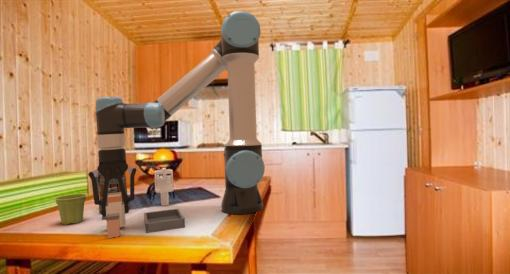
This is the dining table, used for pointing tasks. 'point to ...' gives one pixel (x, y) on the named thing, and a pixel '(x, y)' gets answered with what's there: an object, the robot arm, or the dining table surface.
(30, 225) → the dining table surface
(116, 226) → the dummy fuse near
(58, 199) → the plant pot
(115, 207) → the block
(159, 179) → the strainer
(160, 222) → the tray
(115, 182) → the mug
